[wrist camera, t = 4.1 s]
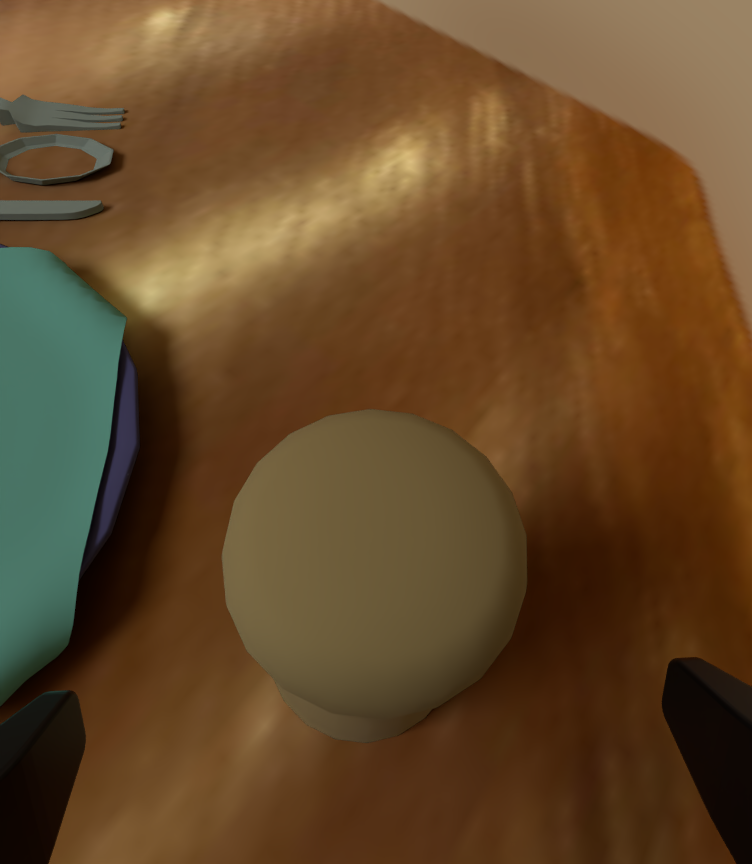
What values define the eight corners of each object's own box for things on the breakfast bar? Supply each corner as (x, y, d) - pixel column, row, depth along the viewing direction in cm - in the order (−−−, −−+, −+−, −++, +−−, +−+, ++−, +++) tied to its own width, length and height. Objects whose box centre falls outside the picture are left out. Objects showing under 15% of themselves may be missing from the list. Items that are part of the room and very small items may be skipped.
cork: (377, 507, 20) (404, 299, 11) (497, 650, 18) (668, 555, 9) (229, 619, 18) (95, 488, 9) (345, 792, 16) (341, 878, 7)
